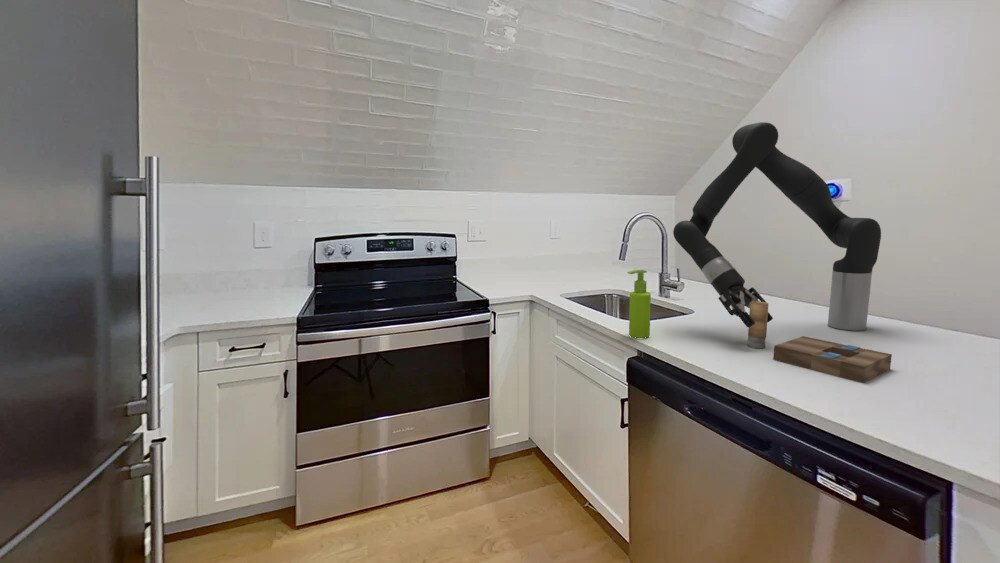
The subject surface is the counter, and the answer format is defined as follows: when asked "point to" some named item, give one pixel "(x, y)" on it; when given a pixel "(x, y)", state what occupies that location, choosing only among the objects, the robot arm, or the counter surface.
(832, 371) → the board
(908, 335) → the counter surface
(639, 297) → the soap dispenser
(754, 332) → the upright wooden block
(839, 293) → the robot arm
